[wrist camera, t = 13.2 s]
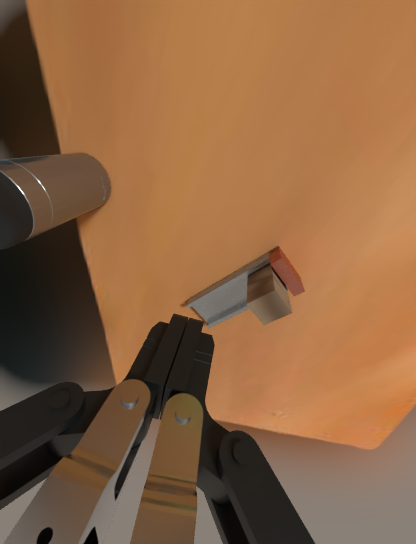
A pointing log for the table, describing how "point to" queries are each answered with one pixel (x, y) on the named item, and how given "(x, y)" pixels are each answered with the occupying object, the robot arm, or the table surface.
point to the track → (241, 288)
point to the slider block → (267, 295)
